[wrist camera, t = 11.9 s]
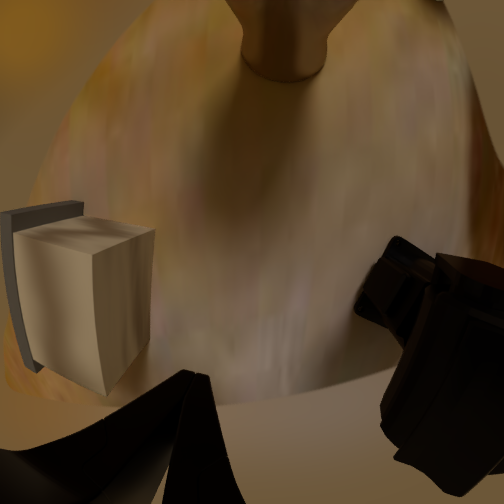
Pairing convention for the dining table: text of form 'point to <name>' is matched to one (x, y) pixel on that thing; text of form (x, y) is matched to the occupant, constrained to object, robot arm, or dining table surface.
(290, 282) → the dining table surface
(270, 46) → the beer glass
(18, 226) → the backstop board
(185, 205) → the dining table surface
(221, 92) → the dining table surface
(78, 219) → the maple block
